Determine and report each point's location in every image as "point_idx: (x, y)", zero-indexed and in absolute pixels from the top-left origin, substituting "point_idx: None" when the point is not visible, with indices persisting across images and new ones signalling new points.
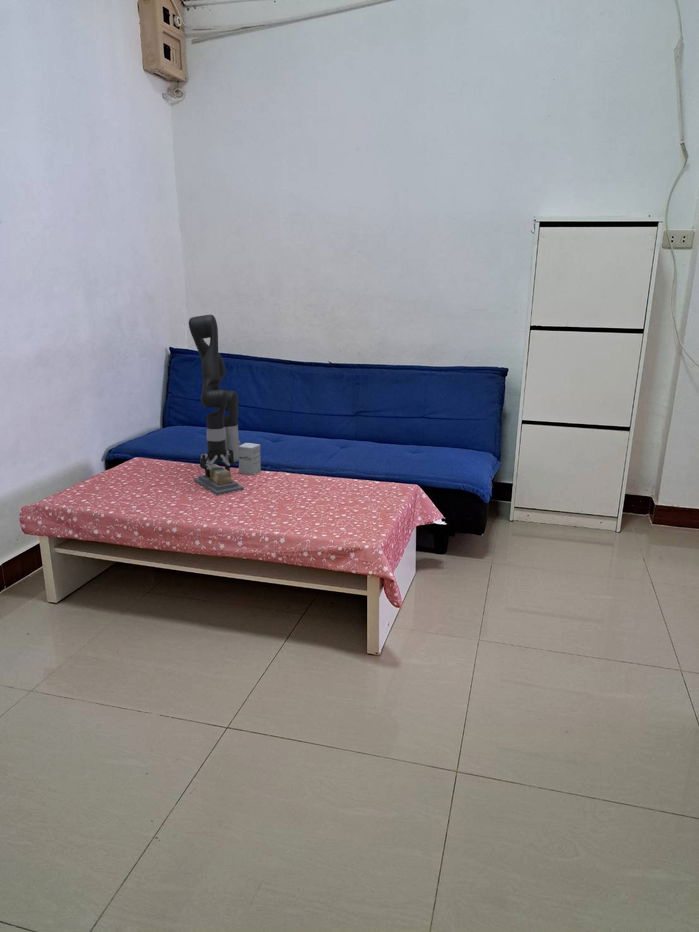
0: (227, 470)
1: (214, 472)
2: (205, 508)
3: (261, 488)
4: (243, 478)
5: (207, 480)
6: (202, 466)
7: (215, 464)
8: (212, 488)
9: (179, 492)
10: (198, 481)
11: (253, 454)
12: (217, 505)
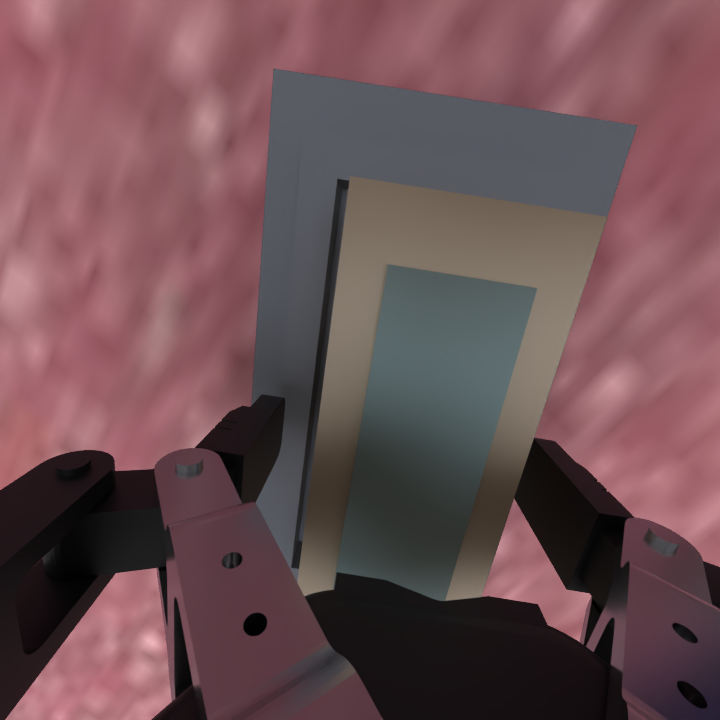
0: (534, 531)
1: (303, 543)
2: (81, 671)
3: None
4: (710, 385)
5: (289, 374)
6: (30, 587)
7: (584, 243)
8: (264, 492)
9: (25, 313)
10: (264, 222)
11: None
12: (162, 680)
